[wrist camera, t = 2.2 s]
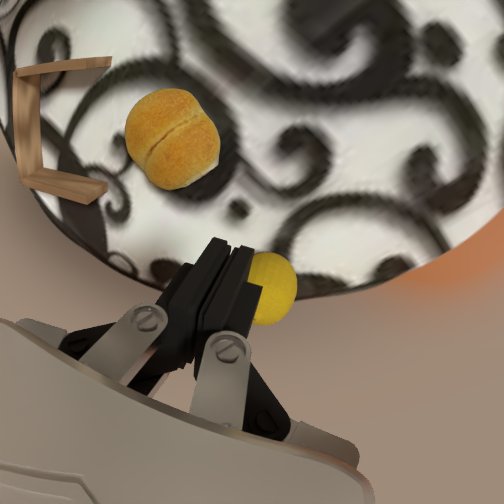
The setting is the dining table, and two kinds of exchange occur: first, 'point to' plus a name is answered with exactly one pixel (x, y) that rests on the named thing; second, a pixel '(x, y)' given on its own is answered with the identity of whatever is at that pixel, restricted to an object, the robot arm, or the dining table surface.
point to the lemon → (272, 286)
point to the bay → (30, 137)
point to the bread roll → (171, 138)
